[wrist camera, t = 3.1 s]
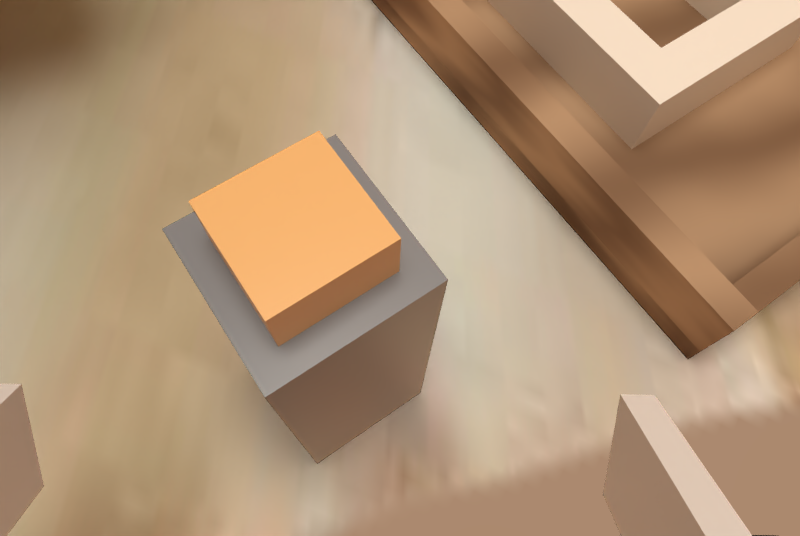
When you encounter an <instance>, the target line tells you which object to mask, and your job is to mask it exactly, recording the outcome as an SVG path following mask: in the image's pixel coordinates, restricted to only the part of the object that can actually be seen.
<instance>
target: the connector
mask: <svg viewBox="0 0 800 536" xmlns="http://www.w3.org/2000/svg"><path fill="white" fill-rule="evenodd" d="M189 203H190V205H191V207H192V208H193V210H194V212H192V213H190V214H189V215H187V216H185V217H183V218H181V219H179V220H178V221H176V222H174V223H172V224H170V225H168V226H167V227H165V228H163V229H162V230H163V231H164V233H165V235H166V236H167V238H168V239H169V241H170V243H171V244H172V246H173V248H174V249H175V251H176V253H177V254H178V256H179V258H180V259H181V261H182V263H183V264H184V266H185V267H186V269H187V271H188V272H189V274H190V276H191V277H192V279H193V281H194V282H195V284H196V286H197V287H198V289H199V290H200V292H201V294H202V295H203V297H204V299H205V300H206V302H207V304H208V305H209V307H210V309H211V310H212V312H213V313H214V315H215V317H216V318H217V320H218V322H219V323H220V325H221V327H222V328H223V330H224V332H225V333H226V335H227V337H228V338H229V340H230V341H231V343H232V345H233V346H234V348H235V350H236V351H237V353H238V355H239V356H240V358H241V360H242V361H243V363H244V364H245V366H246V368H247V369H248V371H249V373H250V374H251V376H252V378H253V379H254V381H255V383H256V384H257V386H258V388H259V389H260V391H261V392H262V394H263V396H264V397H265V399H266V400H267V401H268V402H269V404H270V405H271V406H272V407H273V409H274V410H275V411H276V412H277V414H278V415H279V416H280V417H281V419H282V420H283V421H284V422H285V424H286V425H287V426H288V427H289V429H290V430H291V431H292V433H293V434H294V435H295V436H296V438H297V439H298V440H299V441H300V443H301V444H302V445H303V446H304V448H305V449H306V450H307V451H308V453H309V454H310V455H311V456H312V458H313V459H314V460H315V461H316V463H319V462H320V461H322V460H323V459H325V458H326V457H328V456H329V455H330V454H332V453H333V452H335V451H336V450H338V449H339V448H341V447H342V446H344V445H345V444H346V443H348V442H349V441H351V440H352V439H354V438H355V437H357V436H358V435H360V434H361V433H362V432H364V431H365V430H367V429H368V428H370V427H371V426H373V425H374V424H375V423H377V422H378V421H380V420H381V419H383V418H384V417H386V416H387V415H389V414H390V413H391V412H393V411H394V410H396V409H397V408H399V407H400V406H402V405H403V404H405V403H406V402H407V401H409V400H410V399H412V398H413V397H415V396H416V395H418V394H419V393H420V392H421V388H422V384H423V380H424V376H425V372H426V368H427V364H428V359H429V355H430V351H431V347H432V343H433V339H434V335H435V331H436V327H437V322H438V318H439V314H440V310H441V306H442V302H443V298H444V294H445V290H446V286H447V281H448V279H447V278H446V277H445V275H444V274H443V273H442V272H441V270H440V269H439V268H438V266H437V265H436V264H435V262H434V261H433V260H432V259H431V257H430V256H429V255H428V253H427V252H426V251H425V250H424V248H423V247H422V246H421V244H420V243H419V242H418V240H417V239H416V238H415V237H414V235H413V234H412V233H411V231H410V230H409V229H408V228H407V226H406V225H405V224H404V222H403V221H402V220H401V218H400V217H399V216H398V215H397V213H396V212H395V211H394V209H393V208H392V207H391V206H390V204H389V203H388V202H387V200H386V199H385V198H384V196H383V195H382V194H381V193H380V191H379V190H378V189H377V187H376V186H375V185H374V184H373V182H372V181H371V180H370V178H369V177H368V176H367V174H366V173H365V172H364V171H363V169H362V168H361V167H360V165H359V164H358V163H357V161H356V160H355V159H354V158H353V156H352V155H351V154H350V152H349V151H348V150H347V149H346V147H345V146H344V145H343V143H342V142H341V141H340V139H339V138H338V137H337V136H336V134H335V135H334V136H332V137H330V138H328V139H325V138H324V136H323V135H322V134H321V133H320V131H317V132H316V133H314V134H312V135H310V136H308V137H306V138H304V139H303V140H301V141H299V142H297V143H295V144H293V145H292V146H290V147H288V148H286V149H284V150H282V151H280V152H279V153H277V154H275V155H273V156H271V157H269V158H267V159H266V160H264V161H262V162H260V163H258V164H256V165H254V166H253V167H251V168H249V169H247V170H245V171H243V172H241V173H240V174H238V175H236V176H234V177H232V178H230V179H228V180H227V181H225V182H223V183H221V184H219V185H217V186H215V187H214V188H212V189H210V190H208V191H206V192H204V193H202V194H201V195H199V196H197V197H195V198H193V199H191V200H190V201H189Z"/></svg>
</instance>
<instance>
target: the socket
mask: <svg viewBox="0 0 800 536" xmlns="http://www.w3.org/2000/svg"><path fill="white" fill-rule="evenodd" d="M686 1H687V2H688V3H689V4H690V5H691V6H692V7H694V8H695V9H696V10H697V11H698V12H699V13H700V14H701V15H703V16H704V17H705V18H706V19H707V21H706V22H704V23H702V24H701V25H699V26H697V27H696V28H694V29H692V30H691V31H689V32H687V33H686V34H684V35H682V36H680V37H679V38H677V39H675V40H674V41H672V42H670V43H669V44H667V45H665V46H664V47H662V48H661V47H660V46H659V45H657V44H656V43H655V42H654V41H653V40H652V39H651V38H650V37H649V36H648V35H647V34H646V33H645V32H644V31H643V30H641V29H640V28H639V27H638V26H637V25H636V24H635V23H634V22H633V21H632V20H631V19H630V18H629V17H628V16H626V15H625V14H624V13H623V12H622V11H621V10H620V9H619V8H618V7H617V6H616V5H615V4H614V3H613V2H612V1H610V0H488V2H489V3H490V4H491V5H492V6H493V7H494V8H495V9H496V10H497V11H498V12H499V13H500V14H501V15H502V16H503V17H504V18H505V19H506V20H507V21H508V23H509V24H510V25H511V26H512V27H513V28H514V29H515V30H516V31H517V32H518V33H519V34H520V35H521V36H522V37H523V38H524V39H525V40H526V41H527V42H528V43H529V44H530V45H531V46H532V47H533V48H534V49H535V50H536V51H537V52H538V53H539V54H540V55H541V56H542V57H543V59H544V60H545V61H546V62H547V63H548V64H549V65H550V66H551V67H552V68H553V69H554V70H555V71H556V72H557V73H558V74H559V75H560V76H561V77H562V78H563V79H564V80H565V81H566V82H567V83H568V84H569V85H570V86H571V87H572V88H573V89H574V90H575V91H576V92H577V93H578V95H579V96H580V97H581V98H582V99H583V100H584V101H585V102H586V103H587V104H588V105H589V106H590V107H591V108H592V109H593V110H594V111H595V112H596V113H597V114H598V115H599V116H600V117H601V118H602V119H603V120H604V121H605V122H606V123H607V124H608V125H609V126H610V127H611V128H612V129H613V131H614V132H615V133H616V134H617V135H618V136H619V137H620V138H621V139H622V140H623V141H624V142H625V143H626V144H627V145H628V146H629V147H630V148H631V149H633V148H635V147H636V146H638V145H639V144H641V143H642V142H644V141H646V140H647V139H649V138H650V137H652V136H653V135H655V134H657V133H658V132H660V131H661V130H663V129H664V128H666V127H668V126H669V125H671V124H672V123H674V122H675V121H677V120H679V119H680V118H682V117H683V116H685V115H686V114H688V113H690V112H691V111H693V110H694V109H696V108H697V107H699V106H700V105H702V104H704V103H705V102H707V101H708V100H710V99H711V98H713V97H715V96H716V95H718V94H719V93H721V92H722V91H724V90H726V89H727V88H729V87H730V86H732V85H733V84H735V83H737V82H738V81H740V80H741V79H743V78H744V77H746V76H748V75H749V74H751V73H752V72H754V71H755V70H757V69H759V68H760V67H762V66H763V65H765V64H766V63H768V62H770V61H771V60H773V59H774V58H776V57H777V56H779V55H780V54H782V53H784V52H785V51H787V50H788V49H790V48H791V47H792V46H793V44H794V43H795V42H796V41H797V39H798V38H799V37H800V0H686Z"/></svg>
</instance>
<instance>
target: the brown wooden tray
mask: <svg viewBox="0 0 800 536" xmlns="http://www.w3.org/2000/svg"><path fill="white" fill-rule="evenodd" d="M372 1H373V2H374V3H375V4H376V6H377V7H378V8H379V9H380V10H381V11H382V12H383V14H384V15H385V16H386V17H387V18H388V19H389V20H390V21H391V23H392V24H393V25H394V26H395V27H396V28H397V29H398V31H399V32H400V33H401V34H402V35H403V36H404V37H405V38H406V40H407V41H408V42H409V43H410V44H411V45H412V46H413V48H414V49H415V50H416V51H417V52H418V53H419V54H420V55H421V57H422V58H423V59H424V60H425V61H426V62H427V63H428V65H429V66H430V67H431V68H432V69H433V70H434V71H435V72H436V74H437V75H438V76H439V77H440V78H441V79H442V80H443V82H444V83H445V84H446V85H447V86H448V87H449V88H450V89H451V91H452V92H453V93H454V94H455V95H456V96H457V97H458V99H459V100H460V101H461V102H462V103H463V104H464V105H465V106H466V108H467V109H468V110H469V111H470V112H471V113H472V114H473V116H474V117H475V118H476V119H477V120H478V121H479V122H480V124H481V125H482V126H483V127H484V128H485V129H486V130H487V131H488V133H489V134H490V135H491V136H492V137H493V138H494V139H495V141H496V142H497V143H498V144H499V145H500V146H501V147H502V148H503V150H504V151H505V152H506V153H507V154H508V155H509V156H510V158H511V159H512V160H513V161H514V162H515V163H516V164H517V165H518V167H519V168H520V169H521V170H522V171H523V172H524V173H525V175H526V176H527V177H528V178H529V179H530V180H531V181H532V182H533V184H534V185H535V186H536V187H537V188H538V189H539V190H540V192H541V193H542V194H543V195H544V196H545V197H546V198H547V199H548V201H549V202H550V203H551V204H552V205H553V206H554V207H555V209H556V210H557V211H558V212H559V213H560V214H561V215H562V216H563V218H564V219H565V220H566V221H567V222H568V223H569V224H570V226H571V227H572V228H573V229H574V230H575V231H576V232H577V233H578V235H579V236H580V237H581V238H582V239H583V240H584V241H585V243H586V244H587V245H588V246H589V247H590V248H591V249H592V251H593V252H594V253H595V254H596V255H597V256H598V257H599V258H600V260H601V261H602V262H603V263H604V264H605V265H606V266H607V268H608V269H609V270H610V271H611V272H612V273H613V274H614V275H615V277H616V278H617V279H618V280H619V281H620V282H621V283H622V285H623V286H624V287H625V288H626V289H627V290H628V291H629V292H630V294H631V295H632V296H633V297H634V298H635V299H636V300H637V302H638V303H639V304H640V305H641V306H642V307H643V308H644V309H645V311H646V312H647V313H648V314H649V315H650V316H651V317H652V319H653V320H654V321H655V322H656V323H657V324H658V325H659V326H660V328H661V329H662V330H663V331H664V332H665V333H666V334H667V336H668V337H669V338H670V339H671V340H672V341H673V342H674V343H675V345H676V346H677V347H678V348H679V349H680V350H681V351H682V353H683V354H684V355H685V356H686V357H687V358H688V359H689V358H690V357H692V356H694V355H695V354H697V353H699V352H700V351H702V350H704V349H705V348H707V347H708V346H710V345H712V344H713V343H715V342H717V341H718V340H720V339H722V338H723V337H725V336H726V335H728V334H730V333H731V332H733V331H735V330H736V329H737V328H738V327H740V326H741V325H742V324H744V323H745V322H746V321H747V320H749V319H750V318H751V317H753V316H754V315H755V314H757V313H758V312H759V311H760V310H762V309H763V308H764V307H766V306H767V305H768V304H769V303H771V302H772V301H773V300H775V299H776V298H777V297H779V296H780V295H781V294H782V293H784V292H785V291H786V290H788V289H789V288H790V287H791V286H793V285H794V284H795V283H797V282H798V281H799V280H800V37H799V38H798V39H797V41H796V42H795V43H794V44H793V46H792V47H791V48H790V49H788V50H787V51H785V52H784V53H782V54H780V55H779V56H777V57H776V58H774V59H773V60H771V61H770V62H768V63H766V64H765V65H763V66H762V67H760V68H759V69H757V70H755V71H754V72H752V73H751V74H749V75H748V76H746V77H744V78H743V79H741V80H740V81H738V82H737V83H735V84H733V85H732V86H730V87H729V88H727V89H726V90H724V91H722V92H721V93H719V94H718V95H716V96H715V97H713V98H711V99H710V100H708V101H707V102H705V103H704V104H702V105H700V106H699V107H697V108H696V109H694V110H693V111H691V112H690V113H688V114H686V115H685V116H683V117H682V118H680V119H679V120H677V121H675V122H674V123H672V124H671V125H669V126H668V127H666V128H664V129H663V130H661V131H660V132H658V133H657V134H655V135H653V136H652V137H650V138H649V139H647V140H646V141H644V142H642V143H641V144H639V145H638V146H636V147H635V148H633V149H631V148H630V147H629V146H628V145H627V144H626V143H625V142H624V141H623V140H622V139H621V138H620V137H619V136H618V135H617V134H616V133H615V132H614V131H613V129H612V128H611V127H610V126H609V125H608V124H607V123H606V122H605V121H604V120H603V119H602V118H601V117H600V116H599V115H598V114H597V113H596V112H595V111H594V110H593V109H592V108H591V107H590V106H589V105H588V104H587V103H586V102H585V101H584V100H583V99H582V98H581V97H580V96H579V95H578V93H577V92H576V91H575V90H574V89H573V88H572V87H571V86H570V85H569V84H568V83H567V82H566V81H565V80H564V79H563V78H562V77H561V76H560V75H559V74H558V73H557V72H556V71H555V70H554V69H553V68H552V67H551V66H550V65H549V64H548V63H547V62H546V61H545V60H544V59H543V57H542V56H541V55H540V54H539V53H538V52H537V51H536V50H535V49H534V48H533V47H532V46H531V45H530V44H529V43H528V42H527V41H526V40H525V39H524V38H523V37H522V36H521V35H520V34H519V33H518V32H517V31H516V30H515V29H514V28H513V27H512V26H511V25H510V24H509V23H508V21H507V20H506V19H505V18H504V17H503V16H502V15H501V14H500V13H499V12H498V11H497V10H496V9H495V8H494V7H493V6H492V5H491V4H490V3H489V2H488V0H372ZM610 1H612V2H613V3H614V4H615V5H616V6H617V7H618V8H619V9H620V10H621V11H622V12H623V13H624V14H625V15H626V16H628V17H629V18H630V19H631V20H632V21H633V22H634V23H635V24H636V25H637V26H638V27H639V28H640V29H641V30H643V31H644V32H645V33H646V34H647V35H648V36H649V37H650V38H651V39H652V40H653V41H654V42H655V43H656V44H657V45H659V46H660V47H661V48H662V47H664V46H665V45H667V44H669V43H670V42H672V41H674V40H675V39H677V38H679V37H680V36H682V35H684V34H686V33H687V32H689V31H691V30H692V29H694V28H696V27H697V26H699V25H701V24H702V23H704V22H706V21H707V19H706V18H705V17H704V16H703V15H701V14H700V13H699V12H698V11H697V10H696V9H695V8H694V7H692V6H691V5H690V4H689V3H688V2H687V1H686V0H610Z"/></svg>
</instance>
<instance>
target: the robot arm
mask: <svg viewBox="0 0 800 536" xmlns="http://www.w3.org/2000/svg"><path fill="white" fill-rule="evenodd" d="M43 487H44V485H43V480H42V476H41V471H40V466H39V462H38V457H37V453H36V448H35V444H34V439H33V435H32V430H31V426H30V421H29V417H28V412H27V408H26V403H25V398H24V394H23V389H22V385H21V384H0V536H7V535H8V533H9V532H10V531H11V529H12V528H13V527H14V525H15V524H16V523H17V521H18V520H19V519H20V517H21V516H22V515H23V513H24V512H25V511H26V509H27V508H28V507H29V505H30V504H31V503H32V501H33V500H34V499H35V497H36V496H37V495H38V493H39V492H40V491H41V489H42V488H43ZM603 496H604V498H605V500H606V503H607V505H608V507H609V509H610V512H611V514H612V516H613V518H614V521H615V523H616V525H617V528H618V530H619V532H620V535H621V536H770V535H751V533H750V532H749V530H748V529H747V528H746V526H745V525H744V523H743V522H742V520H741V519H740V517H739V516H738V515H737V513H736V512H735V510H734V509H733V507H732V506H731V504H730V503H729V502H728V500H727V499H726V497H725V496H724V494H723V493H722V491H721V490H720V489H719V487H718V486H717V484H716V483H715V481H714V480H713V478H712V477H711V475H710V474H709V473H708V472H707V470H706V468H705V467H704V465H703V464H702V463H701V461H700V460H699V458H698V457H697V455H696V454H695V452H694V451H693V449H692V448H691V447H690V445H689V444H688V442H687V441H686V439H685V438H684V436H683V435H682V433H681V432H680V431H679V429H678V428H677V426H676V425H675V423H674V422H673V420H672V419H671V418H670V416H669V415H668V413H667V412H666V410H665V409H664V407H663V406H662V405H661V403H660V402H659V400H658V399H657V397H656V396H655V395H631V394H620V400H619V405H618V411H617V417H616V423H615V428H614V434H613V440H612V445H611V451H610V457H609V462H608V468H607V474H606V480H605V486H604V491H603ZM773 536H774V535H773Z"/></svg>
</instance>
